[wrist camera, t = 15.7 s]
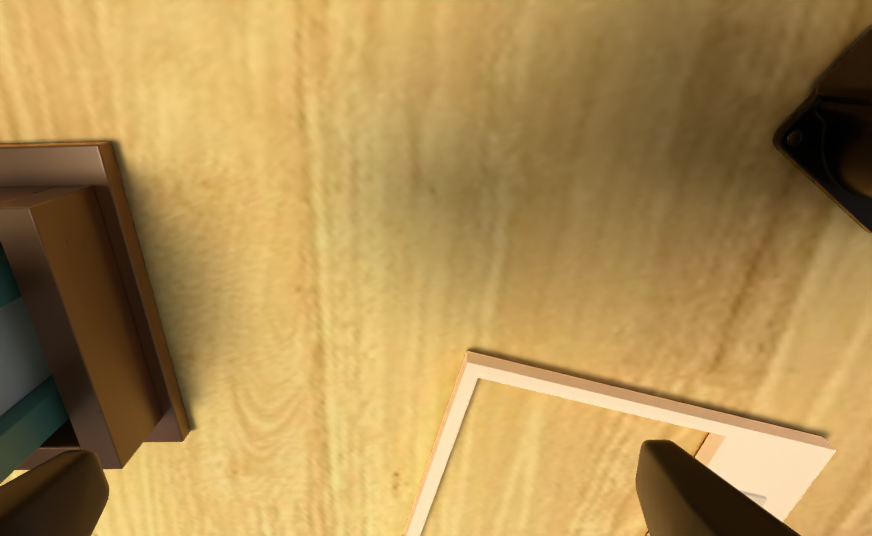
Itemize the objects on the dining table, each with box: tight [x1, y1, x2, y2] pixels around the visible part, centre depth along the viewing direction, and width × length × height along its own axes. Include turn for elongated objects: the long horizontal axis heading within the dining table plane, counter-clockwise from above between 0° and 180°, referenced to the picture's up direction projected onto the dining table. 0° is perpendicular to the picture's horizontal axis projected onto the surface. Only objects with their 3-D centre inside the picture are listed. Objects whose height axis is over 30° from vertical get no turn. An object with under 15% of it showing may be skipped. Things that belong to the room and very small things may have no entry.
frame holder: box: [0, 141, 190, 470], centre depth 20 cm, size 8×14×4 cm, turn 2°
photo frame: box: [402, 351, 837, 536], centre depth 25 cm, size 15×1×18 cm
